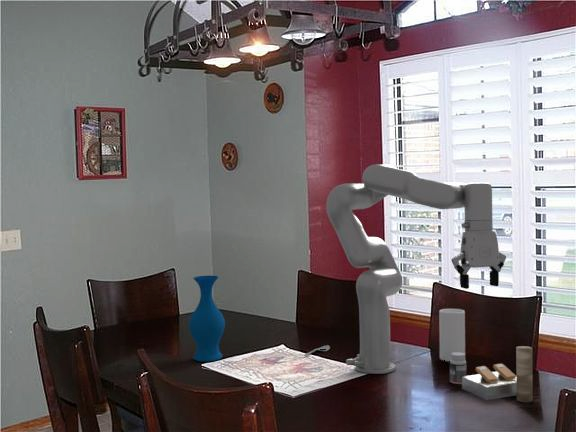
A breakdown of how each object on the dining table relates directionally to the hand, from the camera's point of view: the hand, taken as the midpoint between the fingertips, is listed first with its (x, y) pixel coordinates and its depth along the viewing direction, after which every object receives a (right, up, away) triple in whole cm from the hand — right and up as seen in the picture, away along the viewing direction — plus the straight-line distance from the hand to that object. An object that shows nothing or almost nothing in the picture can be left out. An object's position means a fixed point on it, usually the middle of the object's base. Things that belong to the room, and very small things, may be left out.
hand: (479, 286), depth 187 cm
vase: (-81, -29, +40) cm, 95 cm away
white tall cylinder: (+1, -28, +33) cm, 43 cm away
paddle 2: (+6, -24, -1) cm, 25 cm away
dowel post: (+9, -29, -10) cm, 32 cm away
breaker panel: (+4, -29, -2) cm, 29 cm away
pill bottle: (-4, -29, +7) cm, 30 cm away
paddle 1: (+1, -24, -3) cm, 25 cm away
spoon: (-46, -29, +43) cm, 69 cm away
